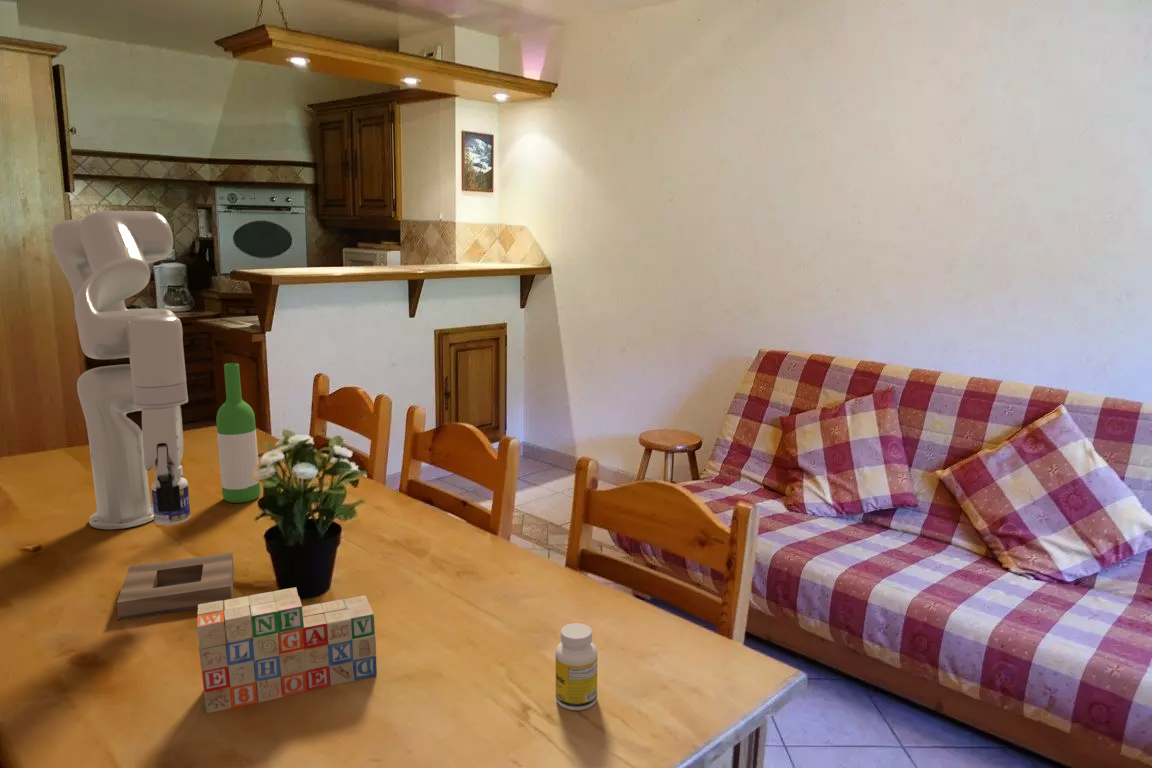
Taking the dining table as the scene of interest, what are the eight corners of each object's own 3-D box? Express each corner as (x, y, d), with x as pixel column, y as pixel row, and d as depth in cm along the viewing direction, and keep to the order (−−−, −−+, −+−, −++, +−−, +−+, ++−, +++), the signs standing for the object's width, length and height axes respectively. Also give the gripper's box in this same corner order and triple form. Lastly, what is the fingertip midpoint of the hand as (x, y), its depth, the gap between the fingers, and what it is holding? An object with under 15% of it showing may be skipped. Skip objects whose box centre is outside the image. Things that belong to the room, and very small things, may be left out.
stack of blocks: (369, 654, 115) (365, 574, 112) (377, 677, 109) (373, 593, 107) (204, 688, 106) (196, 602, 104) (204, 715, 100) (196, 624, 98)
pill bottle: (176, 527, 127) (171, 473, 125) (147, 524, 128) (141, 471, 126) (198, 515, 132) (193, 463, 130) (170, 513, 133) (165, 461, 131)
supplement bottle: (554, 688, 107) (554, 620, 105) (594, 686, 107) (595, 619, 105) (556, 713, 101) (556, 642, 99) (599, 711, 102) (600, 640, 100)
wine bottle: (268, 496, 178) (258, 363, 172) (237, 506, 171) (226, 368, 165) (246, 490, 182) (236, 359, 176) (215, 499, 175) (203, 364, 169)
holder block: (131, 582, 136) (129, 565, 135) (233, 568, 142) (232, 552, 141) (118, 620, 123) (116, 602, 123) (232, 603, 129) (230, 586, 128)
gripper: (140, 385, 132) (151, 490, 136) (125, 408, 116) (138, 526, 120) (191, 382, 135) (200, 485, 138) (183, 404, 119) (194, 519, 123)
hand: (171, 503), depth 129 cm, fingers closed on pill bottle, 5 cm apart
